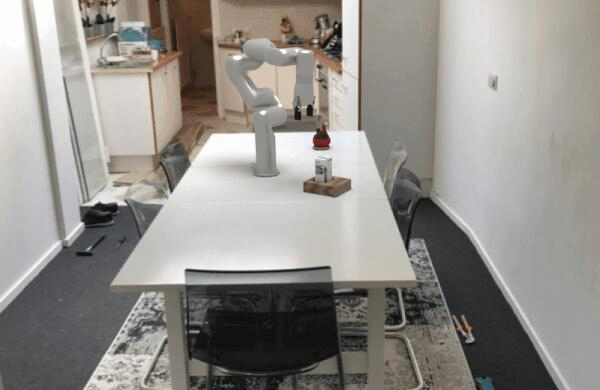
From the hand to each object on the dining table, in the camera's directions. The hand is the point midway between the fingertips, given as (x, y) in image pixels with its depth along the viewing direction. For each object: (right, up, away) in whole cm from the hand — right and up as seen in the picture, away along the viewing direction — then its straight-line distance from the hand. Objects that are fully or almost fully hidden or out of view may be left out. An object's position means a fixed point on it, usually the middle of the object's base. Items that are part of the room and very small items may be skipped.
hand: (303, 118), depth 286 cm
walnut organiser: (+10, -32, -1) cm, 33 cm away
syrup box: (+9, -31, 0) cm, 33 cm away
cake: (+10, -8, +73) cm, 74 cm away
